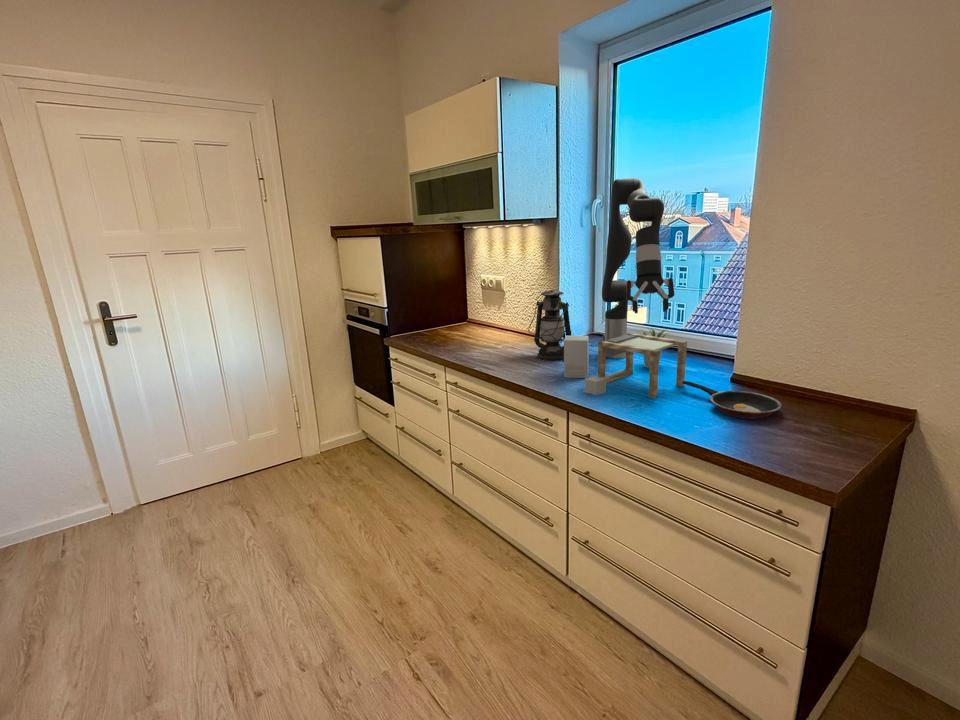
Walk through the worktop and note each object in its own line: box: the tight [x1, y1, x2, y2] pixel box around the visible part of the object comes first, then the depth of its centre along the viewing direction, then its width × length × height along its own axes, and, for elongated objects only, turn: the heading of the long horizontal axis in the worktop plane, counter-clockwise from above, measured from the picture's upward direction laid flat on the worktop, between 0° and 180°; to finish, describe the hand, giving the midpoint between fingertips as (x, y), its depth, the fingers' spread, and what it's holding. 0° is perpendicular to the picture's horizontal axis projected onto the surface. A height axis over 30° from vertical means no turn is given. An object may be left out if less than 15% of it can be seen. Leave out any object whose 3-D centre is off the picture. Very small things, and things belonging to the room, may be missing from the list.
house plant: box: [636, 327, 671, 369], centre depth 191 cm, size 14×14×16 cm
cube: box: [584, 375, 607, 396], centre depth 166 cm, size 5×5×5 cm
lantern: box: [527, 289, 572, 362], centre depth 210 cm, size 19×19×30 cm
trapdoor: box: [606, 335, 674, 355], centre depth 169 cm, size 19×14×5 cm
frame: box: [596, 332, 688, 399], centre depth 170 cm, size 23×19×16 cm
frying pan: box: [682, 380, 782, 420], centre depth 150 cm, size 19×32×4 cm, turn 27°
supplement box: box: [563, 335, 590, 379], centre depth 186 cm, size 9×9×15 cm
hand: (650, 312), depth 150 cm, fingers open, 8 cm apart
